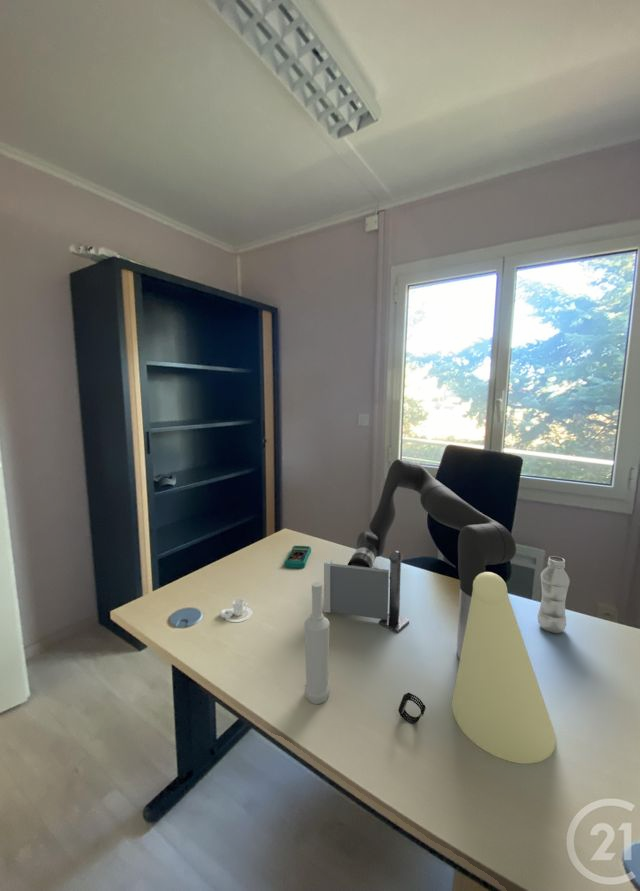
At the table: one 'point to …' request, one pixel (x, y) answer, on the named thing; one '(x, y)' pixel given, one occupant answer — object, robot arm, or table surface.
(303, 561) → the digital multimeter
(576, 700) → the table surface
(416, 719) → the smartwatch
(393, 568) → the gate post
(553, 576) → the plastic bottle
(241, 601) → the teacup and saucer
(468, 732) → the cone light
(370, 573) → the gate
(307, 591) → the table surface
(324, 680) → the bottle
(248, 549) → the table surface
